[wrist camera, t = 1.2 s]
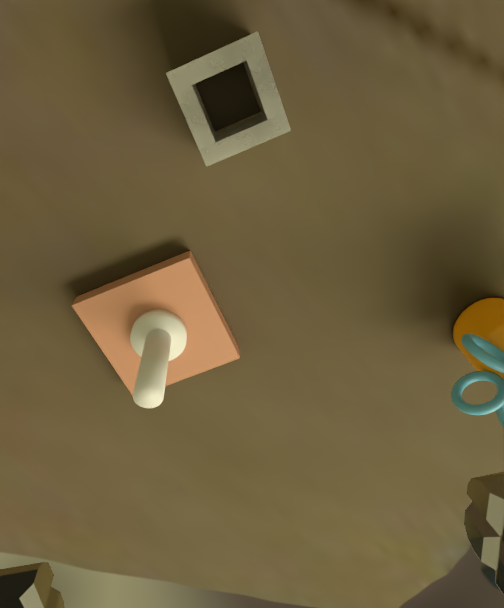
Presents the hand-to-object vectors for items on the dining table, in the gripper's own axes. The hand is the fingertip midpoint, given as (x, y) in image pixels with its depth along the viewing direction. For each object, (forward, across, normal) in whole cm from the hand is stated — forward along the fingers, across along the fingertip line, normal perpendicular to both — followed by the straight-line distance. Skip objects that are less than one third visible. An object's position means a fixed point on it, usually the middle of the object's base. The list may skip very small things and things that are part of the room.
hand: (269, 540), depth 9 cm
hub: (+28, -3, -8) cm, 29 cm away
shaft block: (+30, +4, +8) cm, 31 cm away
